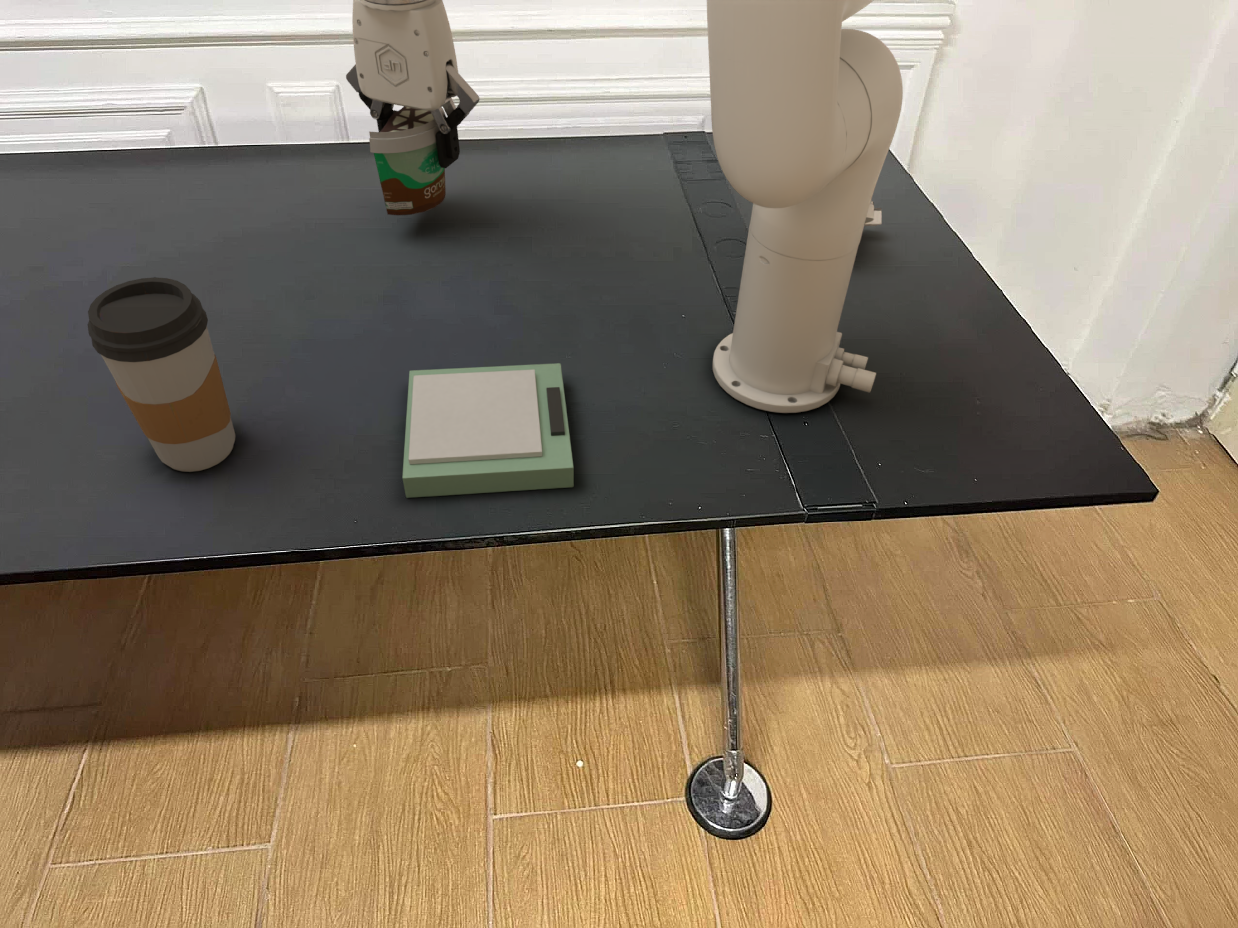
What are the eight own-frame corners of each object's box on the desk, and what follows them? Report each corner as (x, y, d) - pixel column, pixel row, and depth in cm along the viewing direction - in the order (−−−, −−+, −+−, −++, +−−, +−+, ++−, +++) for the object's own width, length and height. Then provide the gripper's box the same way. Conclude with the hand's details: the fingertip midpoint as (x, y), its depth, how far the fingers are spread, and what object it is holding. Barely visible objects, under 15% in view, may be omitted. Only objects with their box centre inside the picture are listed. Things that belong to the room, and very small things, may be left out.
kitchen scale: (560, 382, 86) (560, 357, 84) (573, 487, 77) (573, 462, 75) (412, 390, 85) (408, 365, 83) (406, 498, 75) (401, 472, 73)
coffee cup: (163, 417, 81) (101, 274, 70) (258, 415, 82) (211, 273, 71) (134, 483, 75) (62, 338, 65) (236, 481, 76) (182, 336, 65)
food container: (434, 227, 100) (423, 140, 93) (382, 221, 101) (367, 133, 94) (470, 177, 109) (461, 94, 102) (421, 172, 109) (410, 89, 102)
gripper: (300, -18, 89) (336, 156, 101) (453, 7, 84) (472, 186, 96) (345, -38, 94) (374, 130, 106) (492, -15, 89) (505, 158, 101)
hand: (421, 155), depth 101 cm, fingers closed on food container, 6 cm apart
